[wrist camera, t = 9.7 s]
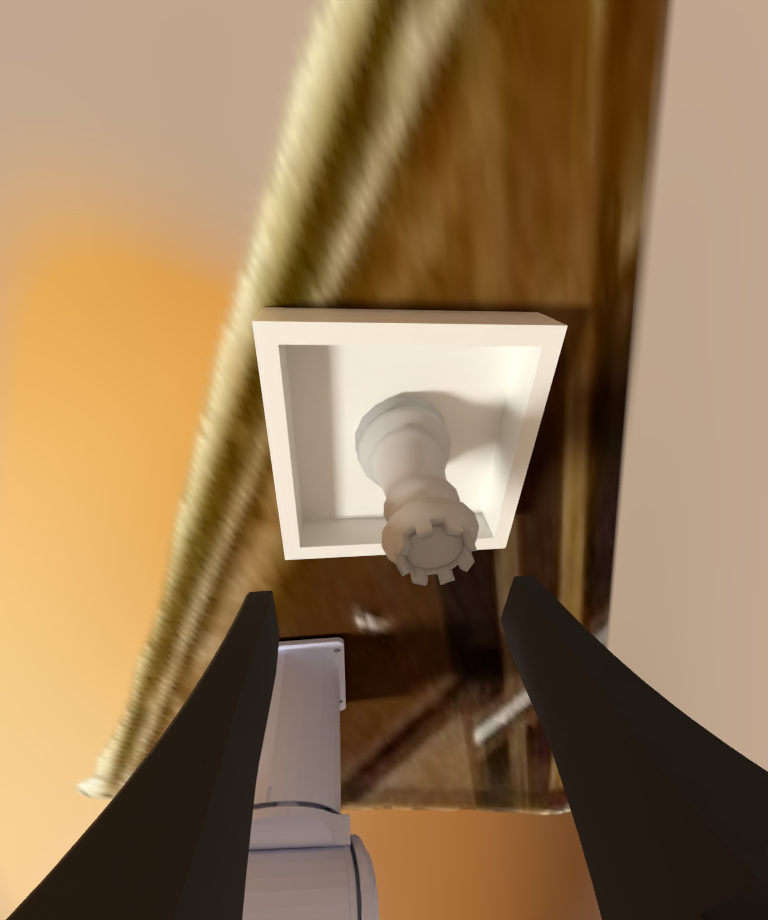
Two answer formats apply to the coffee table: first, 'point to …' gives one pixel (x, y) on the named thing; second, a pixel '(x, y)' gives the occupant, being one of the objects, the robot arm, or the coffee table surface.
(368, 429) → the rook chess piece
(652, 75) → the coffee table surface
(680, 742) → the robot arm
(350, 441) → the tray
